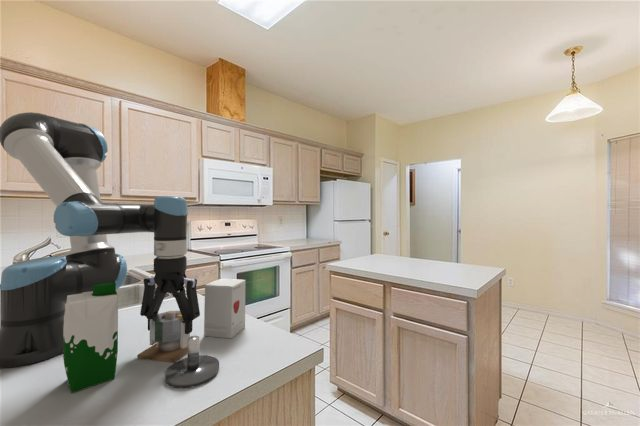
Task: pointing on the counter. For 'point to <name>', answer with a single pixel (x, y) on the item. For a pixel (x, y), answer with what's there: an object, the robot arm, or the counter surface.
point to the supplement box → (224, 307)
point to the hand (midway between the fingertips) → (169, 344)
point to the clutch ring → (166, 328)
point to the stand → (164, 348)
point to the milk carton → (91, 336)
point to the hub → (192, 367)
